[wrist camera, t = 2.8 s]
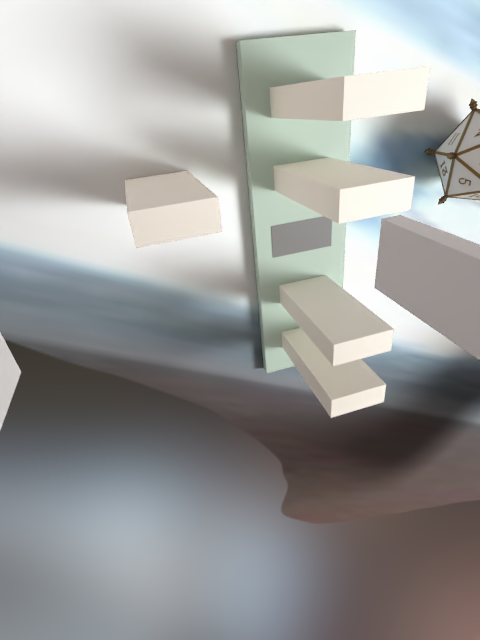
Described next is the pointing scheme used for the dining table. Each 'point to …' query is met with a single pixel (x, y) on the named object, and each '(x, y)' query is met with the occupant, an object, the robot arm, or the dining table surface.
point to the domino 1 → (170, 208)
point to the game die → (461, 159)
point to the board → (283, 148)
